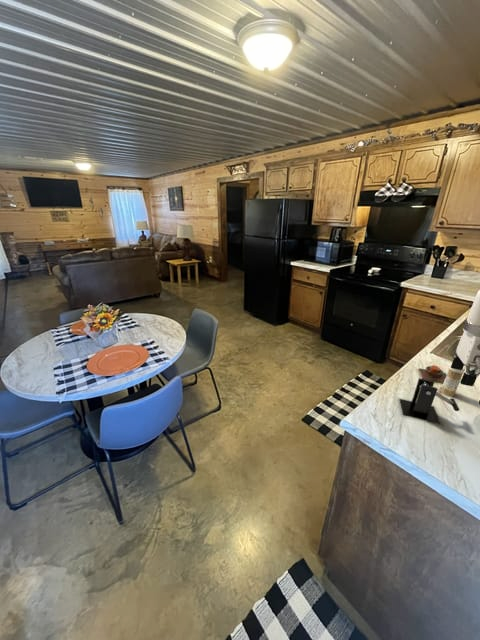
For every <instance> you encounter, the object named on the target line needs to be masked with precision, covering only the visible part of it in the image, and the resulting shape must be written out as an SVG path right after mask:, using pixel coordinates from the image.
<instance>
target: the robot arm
mask: <svg viewBox="0 0 480 640" xmlns="http://www.w3.org/2000/svg"><path fill="white" fill-rule="evenodd" d="M462 331H463V333H462V335H461V337H460V340H459V342H458V343H457V347H456V349H455V354H454V357H453V359H452V362H451V363H452V364H451V363H450V364H451V368H452V369H458V370H462V369H463V367H465V372H464V373H463V374H462V377H461V380H460V383H459V384H460V385H463V386H468V387H474V385H475V383H476V381H477V379H478V377H479V376H480V289H479V290H478V291H477V292H476V294H475V297H474V300H473V303H472V305H471V308H470V311H469V313H468V315H467V319H466V321H465V324H464V325H463V328H462ZM471 368H473V369H471Z"/></svg>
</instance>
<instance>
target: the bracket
mask: <svg viewBox="0 0 480 640" xmlns="http://www.w3.org/2000/svg"><path fill="white" fill-rule="evenodd" d="M424 382H426V383H427V384H429V385H431V386H432V387H430V386H425V385H421V384H422V383H424ZM434 384H435V382H434V381H430V380H425V379H422V378H418V380H417V383H416V387H415V390H414V393H413V395H412V398H411V400H406V399H402V398H399V404H400V408H401V412H402V415H403V416H406V417H410V418H414V419H418V420H423V421H425V422H430V423H434V424H439V425H441V422H440V419H439V417H438V414H437V411H436V409H435V407H434V405H433V403H434V400H435V398H436V396H435V395H436V392H437V391H438V388H437V387H436V386H435V387H434ZM420 385H421V387H420Z"/></svg>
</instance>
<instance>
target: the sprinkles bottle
mask: <svg viewBox="0 0 480 640" xmlns="http://www.w3.org/2000/svg"><path fill="white" fill-rule="evenodd" d="M451 364H452V362H451V363H450V364H449V366H448V371H447V373H446V375H447V376H446V378H445V381H444V383H442V387H441V390H440V391H441V394H444V395H446V396H448V397H449V396H450V397H454V396H455V395H456V392H457V390H458V389H459V388H458V387H459V385H460V384H461V383H460V381H461V379H462V377H463V374H464V373H465V372H466V366H464V367H463V369H462V370H458V369H452V368H451Z"/></svg>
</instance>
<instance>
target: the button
mask: <svg viewBox="0 0 480 640" xmlns="http://www.w3.org/2000/svg"><path fill="white" fill-rule="evenodd" d="M430 366H431V368H430V370H431V371H433V372H436V373H439V370H440V369H441V367H439V366H437V365H433V364H432V365H430Z"/></svg>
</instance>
